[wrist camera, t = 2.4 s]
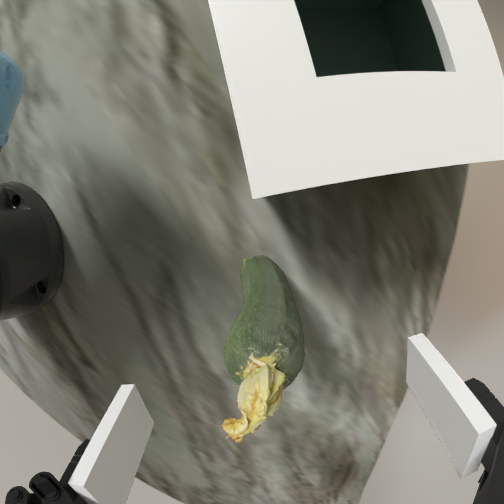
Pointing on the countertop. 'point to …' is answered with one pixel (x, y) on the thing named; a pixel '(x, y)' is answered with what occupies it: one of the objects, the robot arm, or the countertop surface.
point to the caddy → (358, 88)
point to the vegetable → (262, 345)
